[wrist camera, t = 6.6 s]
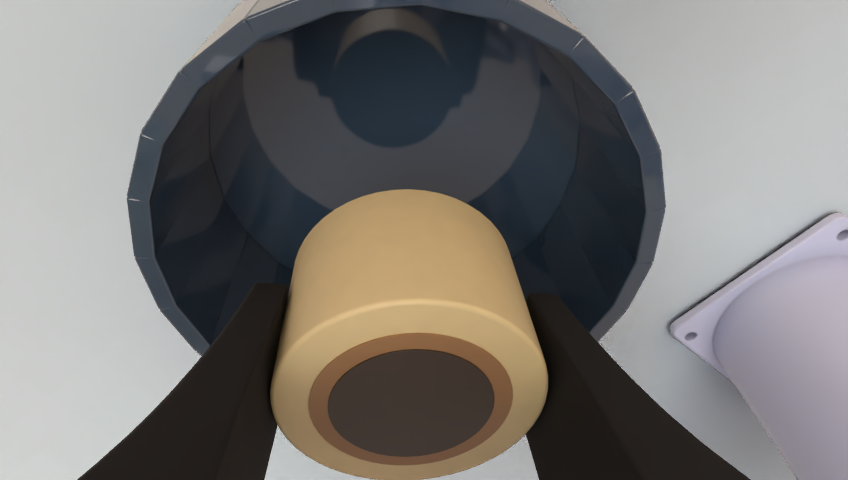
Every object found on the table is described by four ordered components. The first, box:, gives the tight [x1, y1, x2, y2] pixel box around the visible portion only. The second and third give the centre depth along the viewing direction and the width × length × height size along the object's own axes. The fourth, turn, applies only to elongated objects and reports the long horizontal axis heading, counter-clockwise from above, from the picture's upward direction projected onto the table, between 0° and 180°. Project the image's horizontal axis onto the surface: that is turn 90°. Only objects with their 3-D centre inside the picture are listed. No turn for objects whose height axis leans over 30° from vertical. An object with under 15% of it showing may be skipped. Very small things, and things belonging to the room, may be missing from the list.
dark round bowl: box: [127, 0, 666, 356], centre depth 16 cm, size 13×13×6 cm
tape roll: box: [270, 189, 548, 480], centre depth 12 cm, size 5×5×4 cm
